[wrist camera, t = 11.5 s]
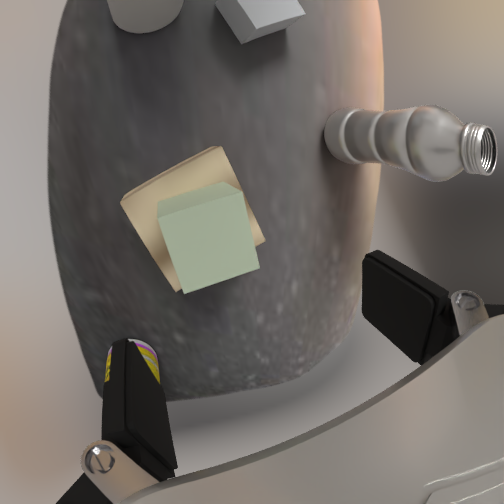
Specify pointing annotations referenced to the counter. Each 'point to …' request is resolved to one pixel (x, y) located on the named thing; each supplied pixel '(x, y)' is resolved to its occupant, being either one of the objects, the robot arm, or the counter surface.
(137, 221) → the beech block
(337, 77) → the counter surface
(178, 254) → the sage-green block
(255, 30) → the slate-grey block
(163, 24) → the can
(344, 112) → the plastic bottle
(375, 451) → the robot arm
